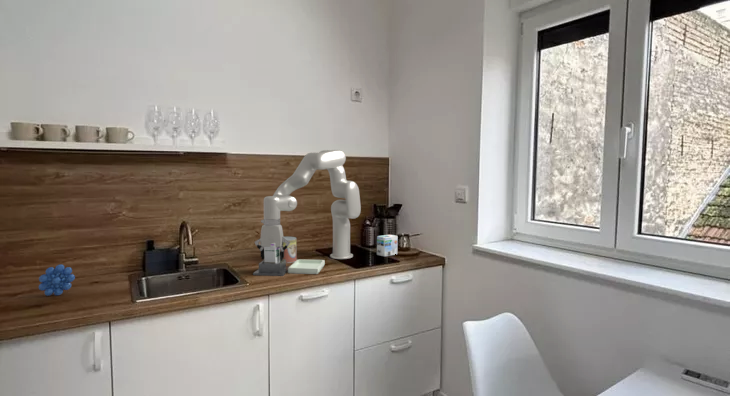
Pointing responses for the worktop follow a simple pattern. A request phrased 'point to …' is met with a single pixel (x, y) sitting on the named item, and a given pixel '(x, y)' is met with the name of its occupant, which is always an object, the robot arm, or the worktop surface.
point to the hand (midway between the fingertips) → (272, 258)
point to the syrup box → (272, 254)
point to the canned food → (290, 250)
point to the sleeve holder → (272, 269)
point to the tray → (306, 266)
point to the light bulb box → (387, 245)
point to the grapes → (56, 280)
